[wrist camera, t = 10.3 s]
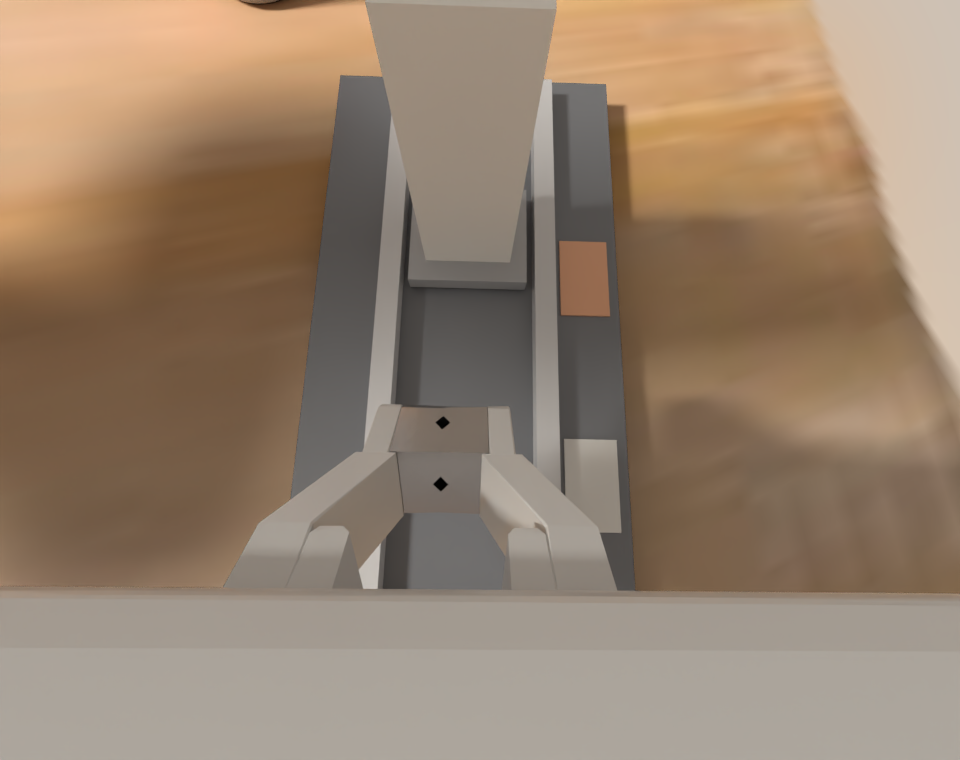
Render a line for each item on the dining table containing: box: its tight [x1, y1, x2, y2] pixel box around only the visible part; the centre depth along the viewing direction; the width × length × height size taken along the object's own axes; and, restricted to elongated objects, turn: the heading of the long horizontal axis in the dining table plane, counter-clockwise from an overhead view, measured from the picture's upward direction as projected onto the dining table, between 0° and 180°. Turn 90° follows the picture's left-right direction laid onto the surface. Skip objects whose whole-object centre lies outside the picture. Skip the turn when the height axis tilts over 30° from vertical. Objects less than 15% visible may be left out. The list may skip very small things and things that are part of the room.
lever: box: [365, 0, 556, 290], centre depth 14 cm, size 6×5×11 cm
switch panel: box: [290, 75, 635, 591], centre depth 19 cm, size 15×28×2 cm, turn 179°
